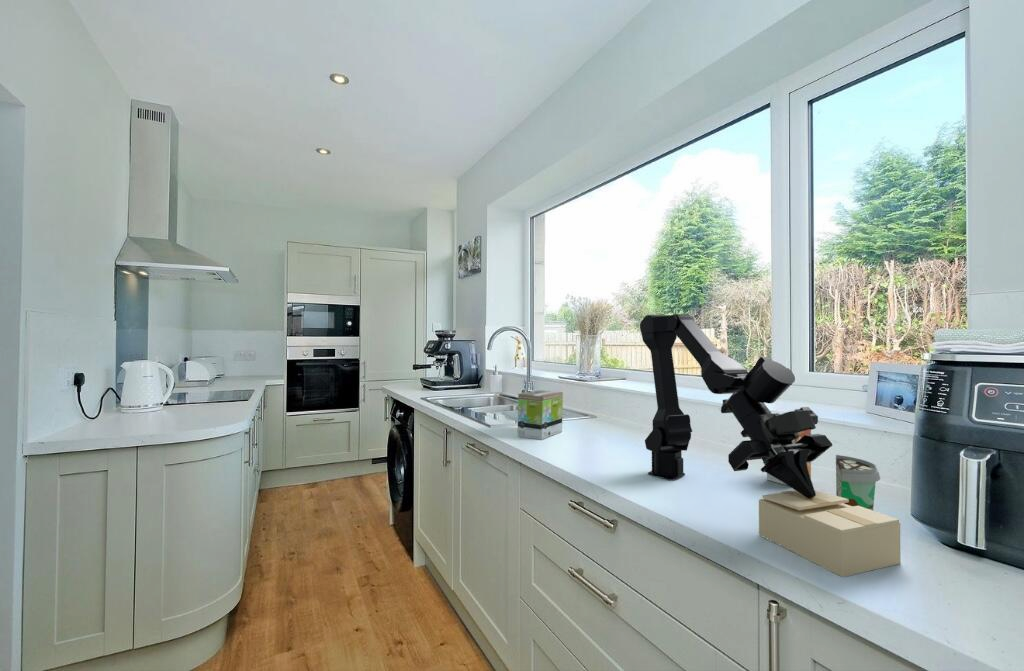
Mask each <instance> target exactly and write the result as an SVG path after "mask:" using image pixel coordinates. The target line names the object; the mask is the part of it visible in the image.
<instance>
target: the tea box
mask: <svg viewBox="0 0 1024 671" xmlns="http://www.w3.org/2000/svg"><path fill="white" fill-rule="evenodd" d="M563 395H564V394H563V391H554V390H543V389H542V390H540V389H539V390H535V391H532V390H531V391H527V392H522V393H518V397H517V398H518V399H517V400H518V402H517V437H520V438H527V439H533V440H539V441H540V440H541V441H542V440H543V439H546V438H549V437H552V436H554V435H558V434H561V433H562V432H563V402H564V400H563V399H564V396H563Z"/></svg>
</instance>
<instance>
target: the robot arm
mask: <svg viewBox="0 0 1024 671" xmlns="http://www.w3.org/2000/svg"><path fill="white" fill-rule="evenodd" d="M639 329H640V334H641V338H642V342H643V343H644V344H645V345H646V347H647V349H649V351H650V356H651V357H650V358H651V365H652V373H653V380H654V381H653V382H654V388H655V389H654V390H655V398H656V405H657V407H656V408H657V410H656V412H655V415H654V417H653V419H652V430H651V432H650V433H649V434H648V435H647V437H646V438H645V440H644V444H645V449H646V450H648V451H651V470H650V471H648V472H647V475H650V476H653V477H657V478H661V479H665V480H669V481H674V480H677V479H679V478H682V477H684V476H686V473H685V472H684V457H682V456H683V454H682V452H686V451H688V449H689V445H690V440H691V439H692V432H693V429H692V427H691V426H692V425H691V417H690V415H689V414H686V413H685V414H684V412H683V410H681V407H680V403H679V402H680V401H679V396H678V395H679V394H678V388H677V381H676V380H677V379H676V374H675V373H676V372H675V363H674V358H673V357H674V356H673V350H672V349H673V347H674V344H675V342H676V340H677V338H678V339H679V340H680V341H681V343H682V344H683V345H684V347H685V348H686V349H687V350H688V353H690V354H691V356H692V357H693V358H694V359H695V361H696V362H697V364H698V365H699V366H700V369H701V370H700V372H701V374H700V376H701V378H702V380H703V382H704V384H705V385H706V387H707V389H708V390H709V392H711V393H712V394H715V395H726V394H729V395H730V394H731V395H730V396H729V398H726V399H722V404H721V407H720V413H721V414H733V416H734V417H735V419H736V420H737V421H738V423H739V424H740V426H741V428H742V430H741V431H740V435H741V436H742V438H749V440H742V441H740V443H739V444H737V445H736V446H735V447H734V448H733V450H731V452H730V453H728V460H727V461H728V464H729V465H730V466H731V468H732V470H733V471H734V472H739V471H746V470H748V469H749V462H748V461H753V460H762V463H763V465H764V466H762V467H761V468H760V471H761V472H762V473H766V474H767V473H768V474H770V475H772V476H773V477H775V478H777V479H778V480H780V481H782V482H784V483H785V484H787V485H786V486H788V487H790V488H791V489H793V491H795V490H796V491H797V492H799V493H801V494H802V495H804V496H805V497H807V498H809V499H810V498H813V497H815V496H816V493H815V490H816V489H815V488H814V485H813V482H812V479H811V478H812V477H811V478H810V475H809V472H808V468H807V463H809V462H811V463H812V462H813V461H815V460H816V459H817V458H819V457H820V456H822V455H823V454H824V453H825V452H826V451H827V450H829V449H830V448H831V447H833V443H832V442H831V440H830V439H829V438H828V437H827V436H826V435H825V434H820V433H814V434H812V433H811V435H804V436H803V437H802V438H801V439H800V440H799V441H797V442H796V443H795V444H792V443H793V442H792V440H795V439H796V438H798V437H799V434H798V432H801V431H805V430H808V429H810V430H811V431H812V430H815V429H817V426H816V425H817V424H818V422H819V419H818V418H819V416H818V415H817V414H816V413H815V412H814V411H813V410H812V409H811V408H810V407H809V406H802V407H801V406H800V408H798V409H797V408H795V409H794V410H791V411H788V412H787V411H786V412H784V413H772V412H771V410H770V409H769V408H768V407H767V405H766V404H773V403H775V402H776V401H777V400H778V399H779V398H780V397H781V396H782V395H783V394H784V393H785V392H786V391H787V390H788V389H789V388H790V387H791V386H792V384H794V383H795V381H796V377H795V374H794V373H793V371H792V370H791V369H790V368H788V367H786V366H785V365H783V364H782V363H780V362H778V361H775V360H773V359H772V358H771V357H770V356H760V357H759V358H758V359H757V361H756V362H755V364H754V366H753V367H752V368H750V370H749V371H748V370H747V369H746V368H745V367H744V366H743V365H742V364H740V363H739V362H738V360H736V359H733V358H732V357H729V356H727V355H725V354H724V353H723V352H721V351H720V350H719V348H718V347H717V346H716V345H715V344H714V343H713V342H712V341H711V339H710V338H709V337H708V336H707V335H706V334H705V332H704V331H703V330H702V329H701V328H700V326H699V325H698V324H697V323H696V322H695V318H694V316H693V315H691V314H688V313H673V314H670V315H669V314H660V315H659V314H647V315H645V316H644V317H643V318H642V320H641V321H640V323H639ZM785 484H784V485H785Z"/></svg>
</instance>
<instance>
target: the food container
mask: <svg viewBox="0 0 1024 671" xmlns="http://www.w3.org/2000/svg"><path fill="white" fill-rule="evenodd" d="M835 470H836V471H835V477H836V479H835V480H836V482H835V483H836V486H835V487H836V488H835V489H836V491H835V492H836V495H835V496H839V497H843V498H846V499H849V502H848V503H844V504H847V505H850V506H861V507H864V508H867V509H870V510H873V511H874V505H875V494H876V493H875V492H876V482H878V481H880V480H881V476H880V471H879V470H878V468H877V466H876V464H874V463H873V462H871V461H867V460H865V459H861V458H857V457H854V456H853V457H852V456H847V455H841V454H836V455H835Z"/></svg>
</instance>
